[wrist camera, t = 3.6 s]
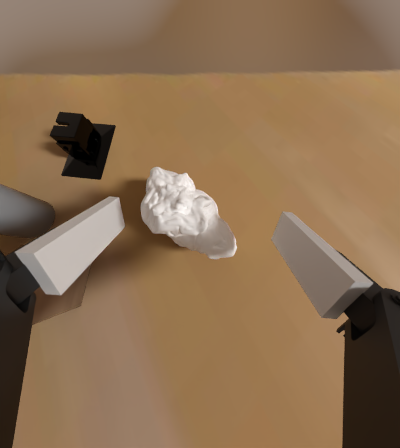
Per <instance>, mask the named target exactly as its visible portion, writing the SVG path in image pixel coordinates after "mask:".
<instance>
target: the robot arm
mask: <svg viewBox="0 0 400 448" xmlns="http://www.w3.org/2000/svg"><path fill="white" fill-rule="evenodd" d="M124 227H125V223H124V218H123V214H122V209H121V204H120V200H119V197H111V196H109V197H108V198H106V199H104V200H102V201H101V202H99V203H97V204H96V205H94V206H92V207H90V208H89V209H87V210H85V211H84V212H82V213H80V214H79V215H77V216H75V217H73V218H72V219H70V220H68V221H67V222H65V223H63V224H62V225H60V226H58V227H56V228H54V229H52V230H50V231H48V232H47V233H45V234H44V235H41V236H40V237H38V238H37V239H34V240H33V241H31V242H29V243H28V244H26V245H24V246H22V247H21V248H19V249H17V250H16V251H14V252H12V253H10V254H9V255H7V256H4V254H3V253H2V252H1V251H0V448H12V445H13V439H14V433H15V427H16V420H17V414H18V408H19V402H20V396H21V390H22V383H23V377H24V371H25V365H26V359H27V353H28V346H29V340H30V334H31V328H32V322H33V315H34V309H35V303H36V294H35V293H34V291H35V290H36V289H38V288H39V287H41V288H42V290H43V291H44V292H45V294H51V295H62V294H63V293H64V292H65V291H66V290H67V289H68V287H69V286H70V285H71V284H72V283H73V282H74V281H75V280H76V279H77V278H78V277H79V276H80V275H81V273H82V272H83V271H84V270H85V269H86V268H87V267H88V266H89V265H90V264H91V263H92V262H93V261H94V260H95V258H96V257H97V256H98V255H99V254H100V253H101V252H102V251H103V250H104V249H105V248H106V247H107V246H108V245H109V243H110V242H111V241H112V240H113V239H114V238H115V237H116V236H117V235H118V234H119V233H120V232H121V231H122V230H123V228H124ZM271 240H272V241H273V243H274V244H275V246H276V248H277V249H278V251H279V252H280V254H281V255H282V257H283V259H284V260H285V262H286V263H287V265H288V266H289V268H290V269H291V271H292V273H293V274H294V276H295V277H296V279H297V280H298V282H299V283H300V285H301V287H302V288H303V290H304V291H305V293H306V294H307V296H308V298H309V299H310V301H311V302H312V304H313V305H314V307H315V308H316V310H317V312H318V313H319V315H320V316H321V318H331V319H337V318H338V317H339V316H340V315H341V314H342V313H343V312H344V313H345V314H346V315H347V316H348V318H349V319H348V320H347V321H346V322H345V323H343V324H342V325H341V326H340V327H339V328H338V329H337V331H336V332H338V333H340V332H341V331H343V330H345V334H344V335H343V336H344V337H345V351H344V398H343V445H342V448H400V292H398V291H395V290H393V289H387V288H385V289H383V288H382V287H380V286H379V285H378V284H377V283H376V282H375V281H373V280H372V279H371V278H370V277H369V276H367V275H366V274H365V273H364V272H363V271H362V270H360V269H359V268H358V267H356V266H355V264H353V263H352V262H351V261H349V259H347V258H346V257H345V256H344V255H343V254H342V253H340V252H338V251H337V250H335V249H334V248H332V247H331V246H330V245H329V244H328V243H327V242H325V241H324V240H323V239H322V238H321V237H320V236H319V235H317V234H316V233H315V232H314V231H313V230H312V229H310V228H309V227H308V226H307V225H306V224H305V223H303V222H302V221H301V220H300V219H299V218H298V217H297V216H295V215H294V214H293V213H292V212H282V214H281V216H280V219H279V221H278V224H277V226H276V229H275V231H274V234H273V236H272V239H271Z"/></svg>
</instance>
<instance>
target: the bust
mask: <svg viewBox="0 0 400 448" xmlns="http://www.w3.org/2000/svg"><path fill="white" fill-rule="evenodd" d="M146 192H147V193H146V195H145V197H144V199H143V200H142V203H141V216H142V219H143V221H144V223H145V224H146V225H147V226H148V227H149V229H150V230H151V231H152V233H155V234H159V233H160V234H166V235H167V236H169V237H170V238H172V240H173V241H174V242H175V243H176V244H178V245H179V246H181V247H186V248H188V249H190V250H191V251H198V252H199V253H205V254H206V255H207V256H208V257H209V258H210V259H218V258H221V257H232V256H233V255H234V254H235V251H236V249H237V246H236V239H235V236H234V234H233V232H232V231H231V230H230V227H229V225H228V224H227V223H226V222H225V221H224V220H223V219H221V218H220V217H219V215H218V207H217V205H216V203H215V202H214V200H213V199H212V198H211V197H210V196H208V195H207V194H206V193H205V192H203V191H201V190H196V189H195V185H194V183H193V180H192V179H191V178H190V177H189V176H188V174H187V173H183V174H177V173H175V172H171V171H168V170H163V169H161V168H160V167H154V168H152V169H151V172H150V177H149V178H148V179H147V183H146Z"/></svg>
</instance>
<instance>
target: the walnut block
mask: <svg viewBox="0 0 400 448" xmlns="http://www.w3.org/2000/svg"><path fill="white" fill-rule="evenodd" d="M90 267H91V264H90V265H89V266H88V267H87V268H86V269H85V270H84V271H83V272H82V273H81V275H80V276H79V277H78V278H77V279H76V280H75V281H74V282H73V283H72V284H71V285H70V286H69V287H68V289H67V290H66V291H65V292H64V293H63V294H62V295H51V294H45V292H44V291H43V290H42V288H41V287H39V288H38V289H36V290H35V291H34V293H35V294H36V303H35V309H34V315H33V322H32V325H33V324H36V323H38V322H41V321H43V320H46V319H49V318H51V317H54V316H56V315H59V314H61V313H64V312H66V311H69V310H71V309H74V308H76V307H79V306H81V303H82V299H83V295H84V291H85V287H86V283H87V279H88V275H89V271H90Z"/></svg>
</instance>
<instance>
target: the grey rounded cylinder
mask: <svg viewBox="0 0 400 448" xmlns="http://www.w3.org/2000/svg"><path fill="white" fill-rule="evenodd" d="M54 218H55V211H54V209H53V207H52V206H51V205H50V204H49V203H48V202H45V201H43V200H40V199H38V198H35V197H32V196H30V195H27V194H25V193H22V192H20V191H17V190H15V189H12V188H9V187H7V186H4V185H2V184H0V235H6V236H14V237H22V238H35V237H38V236H40V235H42V234H44V233H45V232H46V231H47V230H48V229H49V228H50V227H51V226H52V224H53V222H54Z"/></svg>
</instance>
